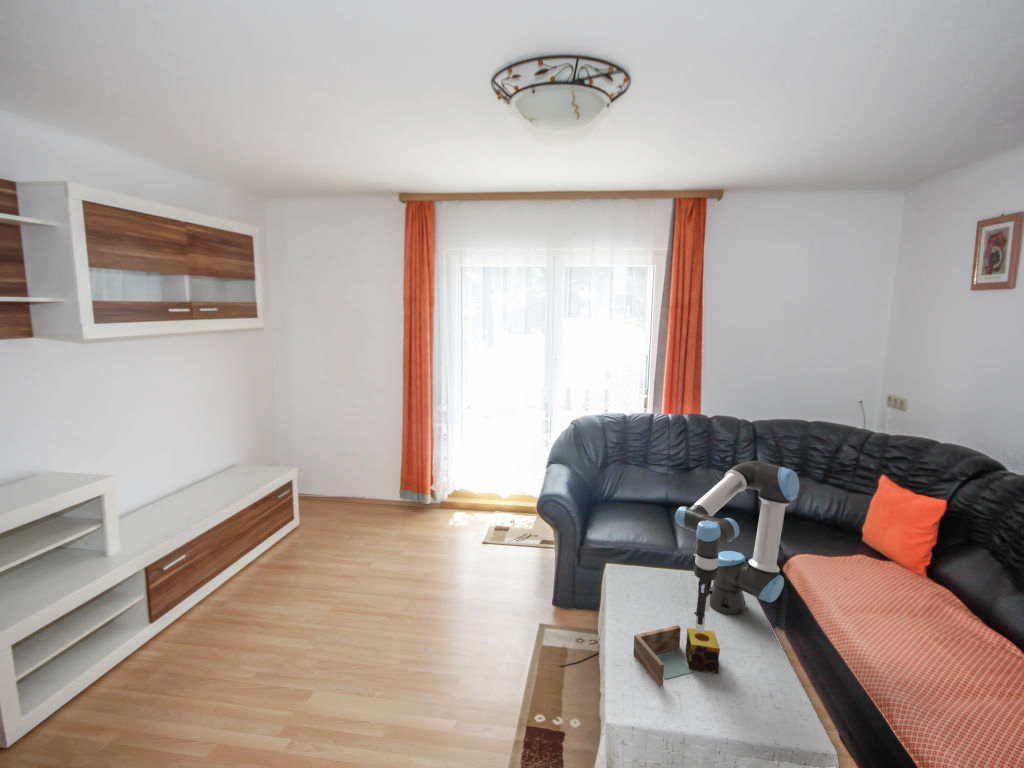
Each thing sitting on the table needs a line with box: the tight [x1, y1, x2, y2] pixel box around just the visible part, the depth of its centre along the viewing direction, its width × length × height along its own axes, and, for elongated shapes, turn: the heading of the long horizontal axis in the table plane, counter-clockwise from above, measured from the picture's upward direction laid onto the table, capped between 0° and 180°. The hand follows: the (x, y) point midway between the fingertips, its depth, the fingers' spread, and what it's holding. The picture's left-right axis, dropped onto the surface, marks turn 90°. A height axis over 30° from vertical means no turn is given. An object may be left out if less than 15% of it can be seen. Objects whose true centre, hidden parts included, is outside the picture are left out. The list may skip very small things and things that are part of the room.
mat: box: [656, 651, 694, 680], centre depth 183 cm, size 11×11×1 cm
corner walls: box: [632, 625, 682, 687], centre depth 183 cm, size 19×16×8 cm
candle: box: [685, 627, 721, 675], centre depth 183 cm, size 10×10×10 cm
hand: (702, 620), depth 181 cm, fingers open, 13 cm apart
